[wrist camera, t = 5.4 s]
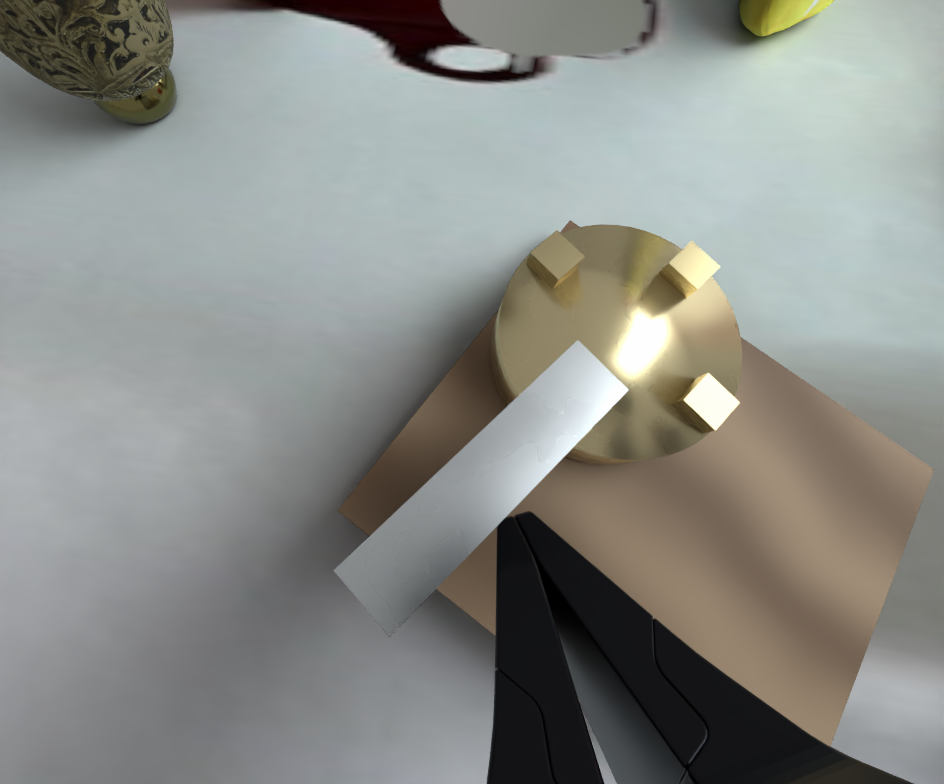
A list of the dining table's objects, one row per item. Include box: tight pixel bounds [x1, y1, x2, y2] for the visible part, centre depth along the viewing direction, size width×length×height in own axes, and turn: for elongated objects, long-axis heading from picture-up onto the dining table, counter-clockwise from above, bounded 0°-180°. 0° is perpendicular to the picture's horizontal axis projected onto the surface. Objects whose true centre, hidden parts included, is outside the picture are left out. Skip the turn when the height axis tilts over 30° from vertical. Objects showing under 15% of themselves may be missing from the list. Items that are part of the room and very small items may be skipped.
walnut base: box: [337, 221, 934, 746], centre depth 17 cm, size 16×19×2 cm
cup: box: [0, 0, 177, 124], centre depth 16 cm, size 8×7×8 cm
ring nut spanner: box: [333, 225, 742, 637], centre depth 13 cm, size 16×9×7 cm, turn 134°
